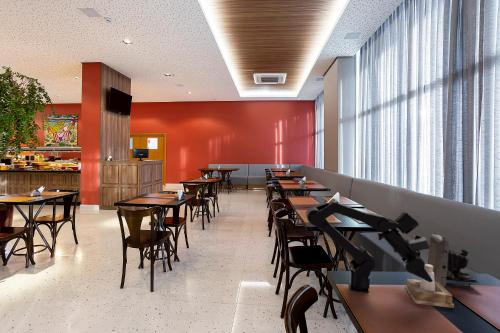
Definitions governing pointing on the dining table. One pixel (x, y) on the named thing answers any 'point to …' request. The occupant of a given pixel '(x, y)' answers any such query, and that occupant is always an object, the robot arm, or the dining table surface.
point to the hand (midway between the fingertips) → (429, 276)
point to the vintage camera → (447, 262)
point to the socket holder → (429, 294)
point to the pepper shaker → (425, 284)
